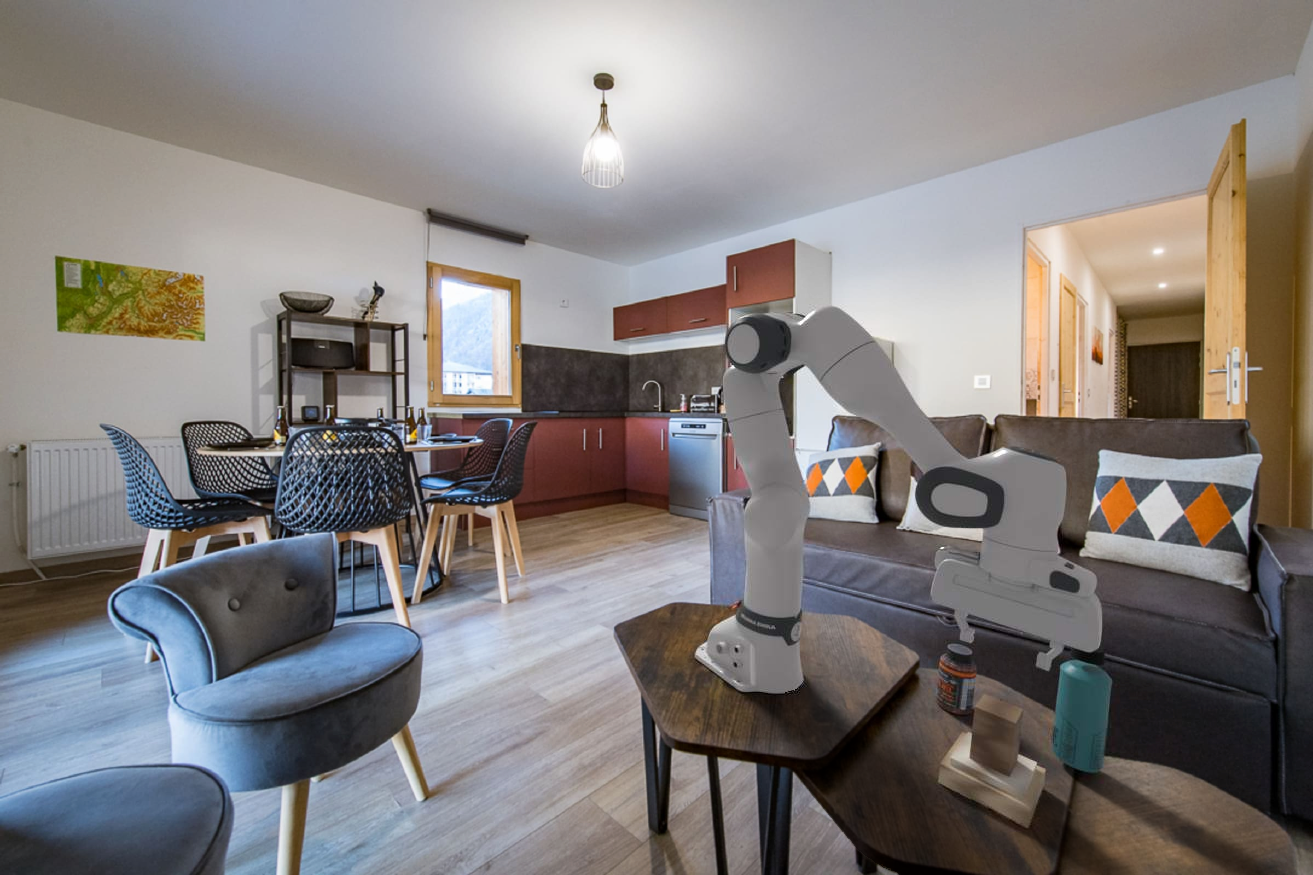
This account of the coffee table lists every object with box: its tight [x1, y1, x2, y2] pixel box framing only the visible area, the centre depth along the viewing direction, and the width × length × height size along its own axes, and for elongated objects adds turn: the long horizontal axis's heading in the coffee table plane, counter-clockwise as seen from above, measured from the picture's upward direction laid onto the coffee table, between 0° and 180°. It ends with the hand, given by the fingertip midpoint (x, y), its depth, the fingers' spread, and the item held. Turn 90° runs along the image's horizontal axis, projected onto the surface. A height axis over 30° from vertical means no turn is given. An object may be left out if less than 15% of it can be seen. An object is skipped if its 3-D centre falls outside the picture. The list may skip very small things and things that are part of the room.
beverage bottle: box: [1050, 646, 1113, 774], centre depth 80 cm, size 6×7×20 cm
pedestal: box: [938, 731, 1047, 828], centre depth 76 cm, size 11×11×4 cm
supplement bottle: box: [935, 643, 978, 716], centre depth 95 cm, size 6×6×11 cm
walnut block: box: [969, 693, 1024, 777], centre depth 75 cm, size 5×5×8 cm
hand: (1002, 653), depth 74 cm, fingers open, 8 cm apart
